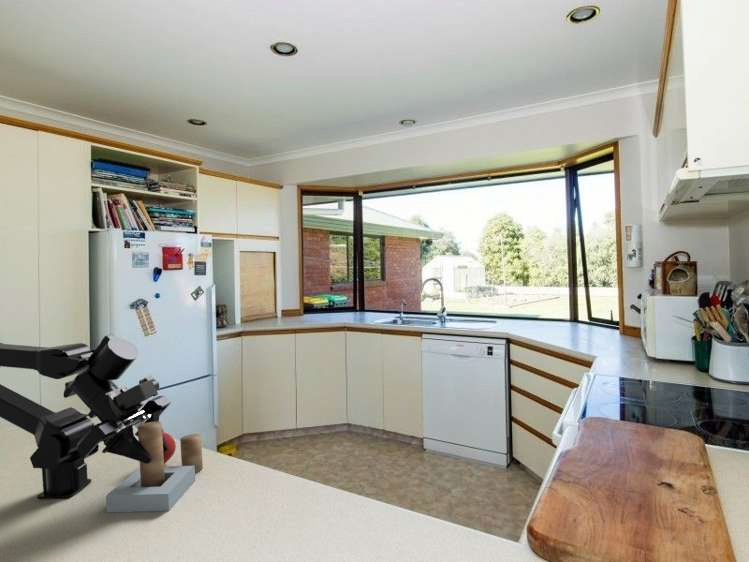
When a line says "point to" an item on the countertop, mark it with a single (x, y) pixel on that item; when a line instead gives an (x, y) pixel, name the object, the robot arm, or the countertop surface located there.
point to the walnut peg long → (152, 454)
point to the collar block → (151, 491)
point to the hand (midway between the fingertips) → (158, 456)
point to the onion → (170, 445)
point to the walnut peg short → (191, 451)
